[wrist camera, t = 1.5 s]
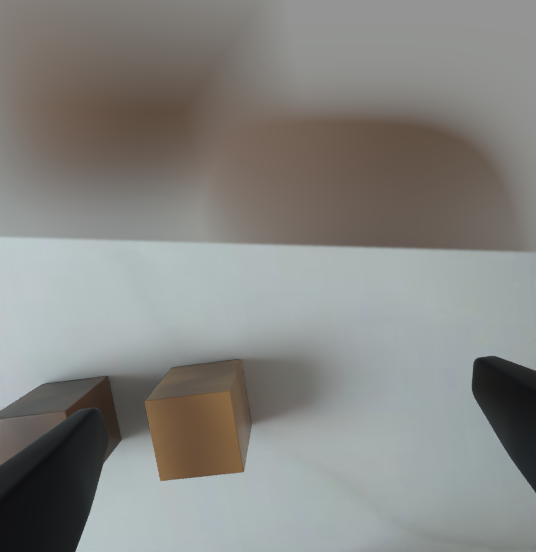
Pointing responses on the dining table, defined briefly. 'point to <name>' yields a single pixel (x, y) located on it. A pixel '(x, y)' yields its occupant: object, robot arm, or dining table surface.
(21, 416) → the walnut block
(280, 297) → the dining table surface
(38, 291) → the dining table surface
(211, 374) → the oak block
